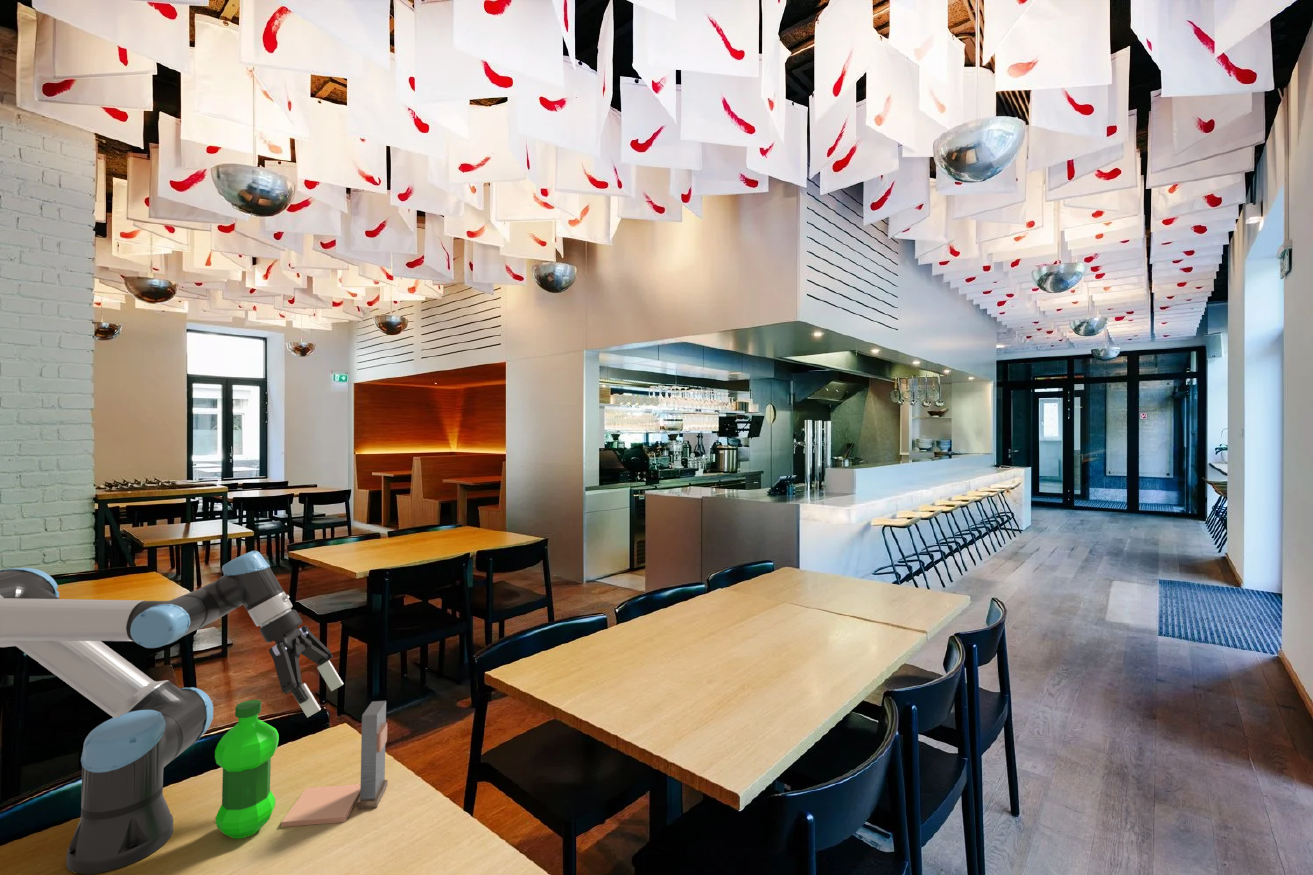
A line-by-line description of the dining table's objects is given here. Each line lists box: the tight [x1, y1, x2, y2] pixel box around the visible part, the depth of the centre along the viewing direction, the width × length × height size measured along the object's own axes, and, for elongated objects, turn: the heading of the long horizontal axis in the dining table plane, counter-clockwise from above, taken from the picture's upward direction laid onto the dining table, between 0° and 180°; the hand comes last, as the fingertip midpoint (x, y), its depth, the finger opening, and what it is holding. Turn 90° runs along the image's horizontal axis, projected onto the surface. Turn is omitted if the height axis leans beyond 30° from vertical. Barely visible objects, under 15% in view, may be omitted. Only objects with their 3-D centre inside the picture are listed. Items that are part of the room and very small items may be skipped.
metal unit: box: [356, 700, 389, 810], centre depth 131 cm, size 4×8×20 cm, turn 10°
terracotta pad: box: [280, 783, 361, 828], centre depth 127 cm, size 12×12×1 cm
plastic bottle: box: [214, 699, 280, 839], centre depth 119 cm, size 10×10×25 cm
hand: (326, 699), depth 132 cm, fingers open, 13 cm apart
